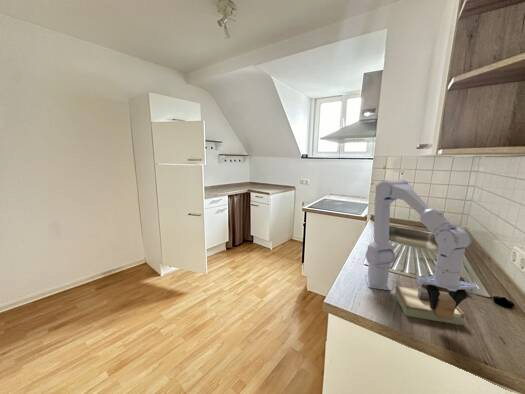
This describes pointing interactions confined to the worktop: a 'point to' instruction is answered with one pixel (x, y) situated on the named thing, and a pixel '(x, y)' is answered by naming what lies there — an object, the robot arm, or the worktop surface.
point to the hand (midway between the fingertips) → (441, 308)
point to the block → (444, 306)
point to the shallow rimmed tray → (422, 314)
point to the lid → (420, 300)
